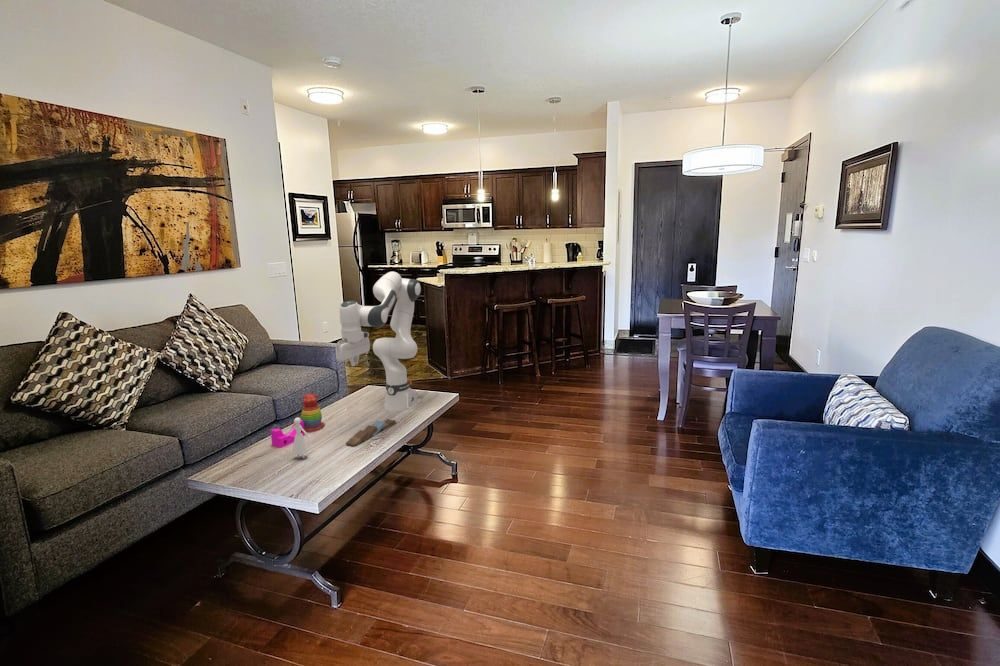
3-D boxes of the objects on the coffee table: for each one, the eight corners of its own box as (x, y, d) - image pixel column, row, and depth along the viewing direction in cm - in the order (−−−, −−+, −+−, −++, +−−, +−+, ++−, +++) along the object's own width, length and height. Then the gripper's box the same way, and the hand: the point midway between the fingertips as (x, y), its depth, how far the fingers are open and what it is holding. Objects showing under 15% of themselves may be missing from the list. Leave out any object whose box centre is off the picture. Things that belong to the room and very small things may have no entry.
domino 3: (365, 435, 224) (377, 422, 232) (373, 437, 222) (386, 424, 230) (364, 433, 224) (376, 420, 232) (372, 434, 221) (385, 421, 229)
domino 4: (374, 429, 231) (387, 422, 240) (382, 430, 228) (395, 423, 237) (374, 425, 230) (387, 419, 239) (382, 427, 228) (395, 420, 237)
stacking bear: (325, 424, 240) (322, 390, 237) (323, 431, 230) (320, 396, 227) (302, 426, 237) (299, 392, 234) (299, 434, 228) (296, 398, 225)
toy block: (282, 448, 212) (280, 432, 210) (272, 446, 214) (270, 430, 213) (308, 436, 225) (306, 421, 224) (298, 434, 228) (297, 419, 226)
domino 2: (355, 440, 218) (369, 428, 227) (364, 442, 216) (377, 429, 224) (355, 438, 218) (368, 425, 226) (363, 439, 216) (377, 426, 224)
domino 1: (346, 445, 213) (361, 432, 221) (355, 447, 211) (369, 434, 219) (345, 443, 212) (360, 430, 220) (354, 444, 210) (368, 431, 218)
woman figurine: (316, 456, 202) (313, 416, 199) (310, 461, 198) (306, 420, 195) (292, 454, 204) (288, 415, 201) (285, 459, 200) (281, 418, 197)
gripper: (342, 341, 208) (345, 372, 211) (371, 332, 227) (373, 360, 230) (330, 341, 210) (333, 371, 213) (360, 331, 229) (362, 359, 232)
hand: (354, 365), depth 222 cm, fingers closed
